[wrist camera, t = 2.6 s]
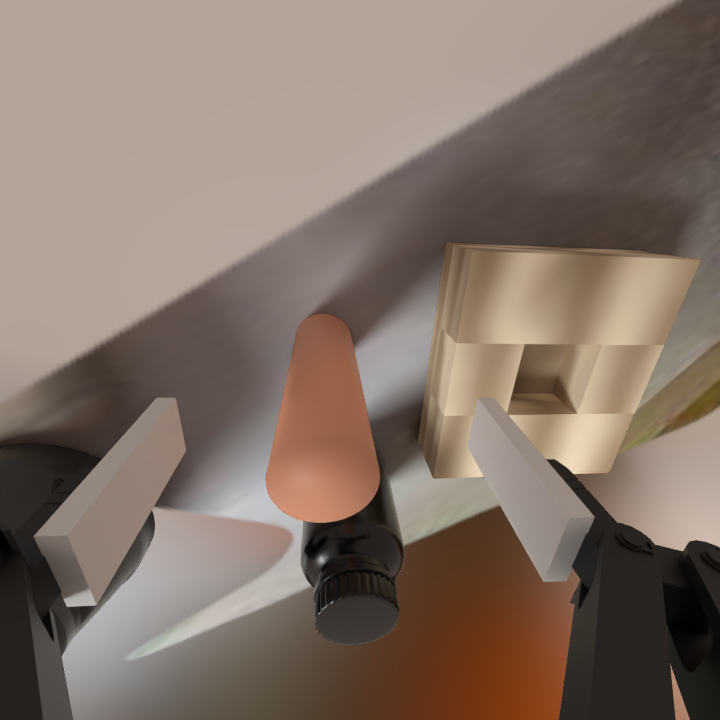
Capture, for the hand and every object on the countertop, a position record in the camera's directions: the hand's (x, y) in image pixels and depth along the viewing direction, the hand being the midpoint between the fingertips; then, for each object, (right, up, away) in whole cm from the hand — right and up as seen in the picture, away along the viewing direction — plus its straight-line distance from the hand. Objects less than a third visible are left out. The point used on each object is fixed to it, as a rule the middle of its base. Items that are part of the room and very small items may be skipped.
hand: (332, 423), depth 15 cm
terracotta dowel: (-1, +4, +10) cm, 11 cm away
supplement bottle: (0, -7, +15) cm, 16 cm away
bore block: (+13, +3, +12) cm, 18 cm away
